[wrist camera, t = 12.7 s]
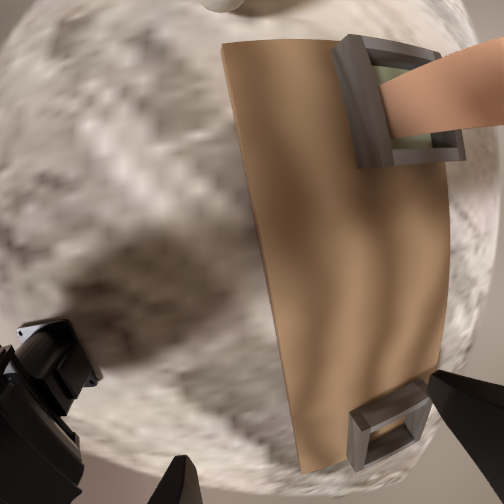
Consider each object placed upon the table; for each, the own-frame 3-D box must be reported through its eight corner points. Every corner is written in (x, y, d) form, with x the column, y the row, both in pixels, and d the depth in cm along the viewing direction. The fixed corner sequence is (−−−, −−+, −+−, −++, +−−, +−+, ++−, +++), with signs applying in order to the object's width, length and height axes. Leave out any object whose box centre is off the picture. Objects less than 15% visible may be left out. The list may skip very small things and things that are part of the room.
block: (392, 139, 18) (534, 123, 6) (365, 91, 16) (497, 38, 5) (421, 120, 18) (546, 102, 6) (397, 76, 16) (516, 33, 5)
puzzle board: (299, 465, 26) (310, 492, 22) (220, 53, 16) (225, 21, 12) (415, 415, 28) (432, 434, 24) (408, 58, 18) (439, 43, 13)
